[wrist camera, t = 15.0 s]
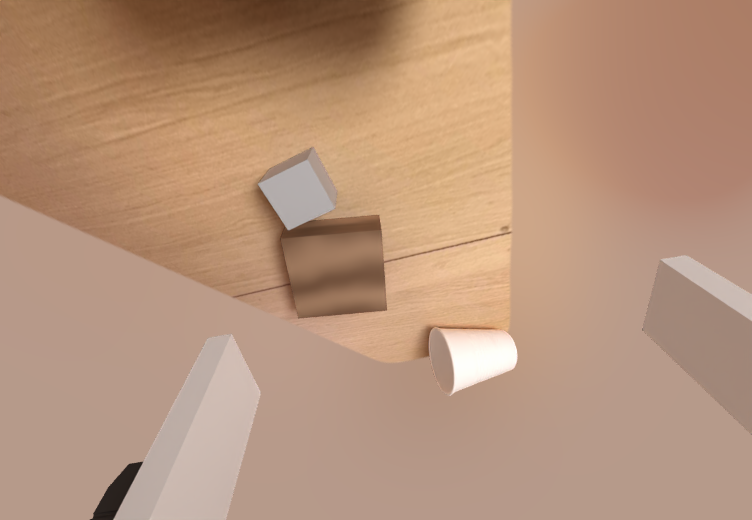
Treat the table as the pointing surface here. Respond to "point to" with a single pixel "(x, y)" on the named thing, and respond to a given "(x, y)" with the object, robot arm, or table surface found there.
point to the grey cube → (299, 189)
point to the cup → (469, 356)
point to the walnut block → (336, 266)
